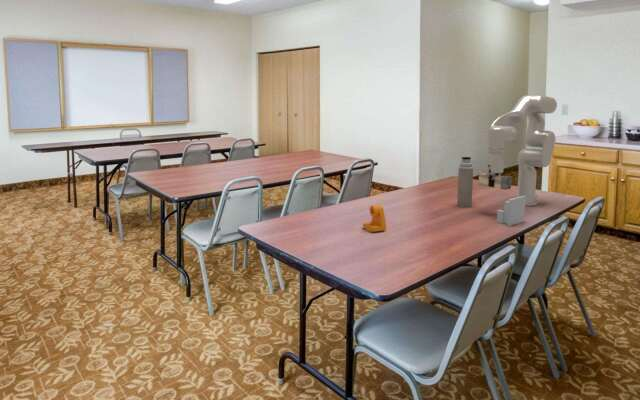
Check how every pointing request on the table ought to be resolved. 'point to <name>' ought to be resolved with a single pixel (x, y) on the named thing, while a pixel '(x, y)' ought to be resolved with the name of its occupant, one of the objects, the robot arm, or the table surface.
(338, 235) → the table surface
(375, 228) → the bracket
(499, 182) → the tan and gray block
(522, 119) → the robot arm
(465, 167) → the thermos bottle
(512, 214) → the gray forked clamp
